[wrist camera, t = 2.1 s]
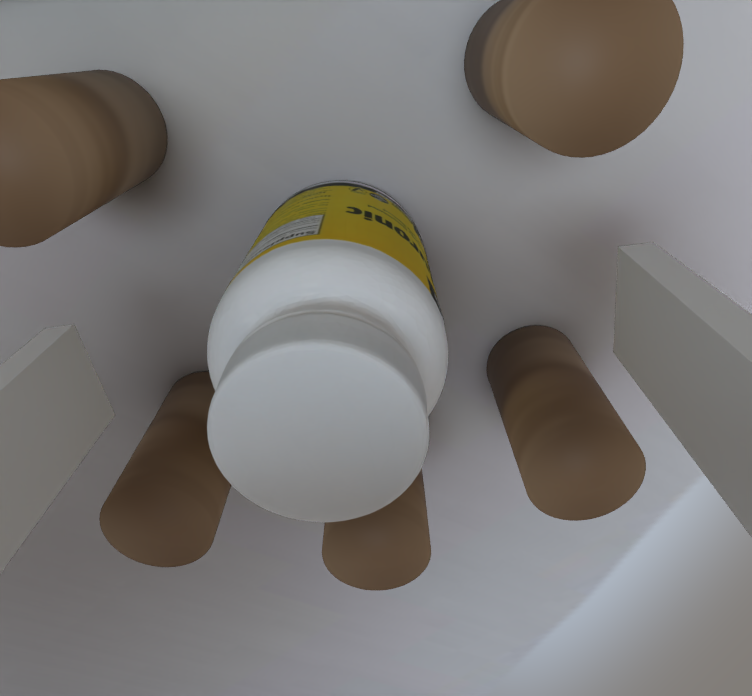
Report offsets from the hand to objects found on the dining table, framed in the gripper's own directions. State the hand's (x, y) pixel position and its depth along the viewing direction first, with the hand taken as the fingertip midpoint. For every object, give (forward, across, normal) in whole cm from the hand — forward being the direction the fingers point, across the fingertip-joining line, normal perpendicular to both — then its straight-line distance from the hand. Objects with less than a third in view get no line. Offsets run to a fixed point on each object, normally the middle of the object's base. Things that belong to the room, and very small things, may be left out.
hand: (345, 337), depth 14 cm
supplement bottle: (+6, 0, 0) cm, 6 cm away
